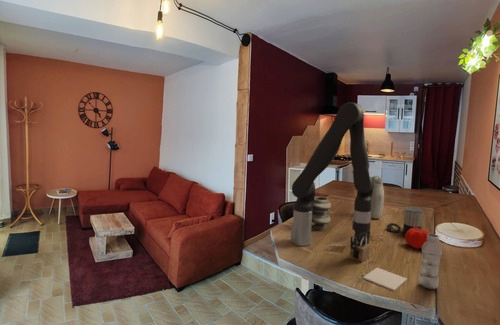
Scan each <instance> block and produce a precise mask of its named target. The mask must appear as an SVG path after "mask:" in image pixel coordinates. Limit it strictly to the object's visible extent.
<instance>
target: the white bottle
mask: <svg viewBox="0 0 500 325" xmlns="http://www.w3.org/2000/svg"><path fill="white" fill-rule="evenodd" d="M371 178H372V179H373V182H374V188H373V194H372V199H371V219H376V220H378V219H379V218H381V217H382V214H383V213H384V203H385V192H384V191H385V190H384V179H383V177H381V176H379V175H374V176H371Z"/></svg>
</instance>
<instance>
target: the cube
mask: <svg viewBox="0 0 500 325" xmlns="http://www.w3.org/2000/svg"><path fill="white" fill-rule="evenodd" d="M357 243H358V242H357ZM357 247H358V245H357ZM349 248H350V250H349V258H350V259H352V260H354V261H356V262H360V263H364V262H366V261H367V260H369V258H370V245H369V244H367V245H365V244H362V245H361V246H360V248H359V257H358V259H356V258H354V257H353V251H354V250H353V249H351V245H350V247H349Z"/></svg>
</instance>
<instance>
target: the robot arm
mask: <svg viewBox="0 0 500 325" xmlns="http://www.w3.org/2000/svg"><path fill="white" fill-rule="evenodd" d="M364 111H365V110H364V109H363V107H362V105H360V104H358V103H356V102H346V103H343V105H341V106H340V107H339V109H338V110H337V113H336V115H335V116H334V119H333V121H332V123H331V125H330V127H328V128H329V129H328V130H327V131H326V133H325V134H324V136H323V138H322V139H321V141H320V142H319V144H318V145H317V146H316V148H315V149H314V152H313V153H312V155H311V157H310V158H309V160H308V162H307V163H306V164H305V166H304V168H303V170H302V171H301V172H300V174H299V175H298V176H297V177H296V179H295V180H294V181H293V183H292V185H291V193H292V195H293V196H294V197H296V200H295V202H294V203H293V218H292V223H291V226H290V228H291V229H290V230H291V231H290V242H292V244H294V245H295V246H299V247H308V246H310V245H311V244H312V240H311V239H312V228H311V226H312V225H313V224H312V223H313V222H312V207H313V205H314V198H315V197H316V196H315V194H316V186H315V185H316V183H315V180H316V179H317V178H318V177H319V175H321V174H322V173H323V172H324V171H325V170H326V169H327V168H328V167H329V165H331V163H332V161H333V160H334V159H335V157H336V156H337V154H338V152H339V150H340V147H341V145H342V142H343V138H344V137H345V135H346V134H347V132H348V131H349V138H350V139H349V140H350V141H349V142H350V143H349V149H350V150H349V153H350V159H351V166H352V169H353V170H352V172H353V173H352V175H353V177H352V179H353V185H354V188H355V190H356V196H355V199H354V208H353V212H352V213H353V214H352V224H351V225H352V230H353V231H354V235H353V236H350V246H351V249H353V250H354V251H353V257H354V258H356V259H358V257H359V248H360V246H361V245H362V244H365V245H369V244H370V237H371V223H372V218H371V199H372V194H373V188H374V182H373V179H372V176H370V170H369V169H370V162H369V161H370V160H369V155H368V150H367V144H366V137H365V123H364V121H365V120H364V118H365V117H364V116H365V115H364V114H365V113H364ZM357 242H358V243H357ZM357 245H358V247H357Z"/></svg>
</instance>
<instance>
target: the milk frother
mask: <svg viewBox="0 0 500 325" xmlns="http://www.w3.org/2000/svg"><path fill="white" fill-rule="evenodd" d="M423 213H424V210H423V209H422V208H419V207H413V206H406V207H404V215H403V216H404V218H403V228H402V227H401V226H399V224H397V223H393V222H390V223H388V224H387V225H386V230H387V231H390V232H393V233H400V231H401V230H402V235H404V236H405V235H406V233H407V231H408V230H409V229H413V228H414V227H417V228H419V229H420V230H422V222H423ZM394 227H396V228H397V229H396V230H395V229H394Z"/></svg>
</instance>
